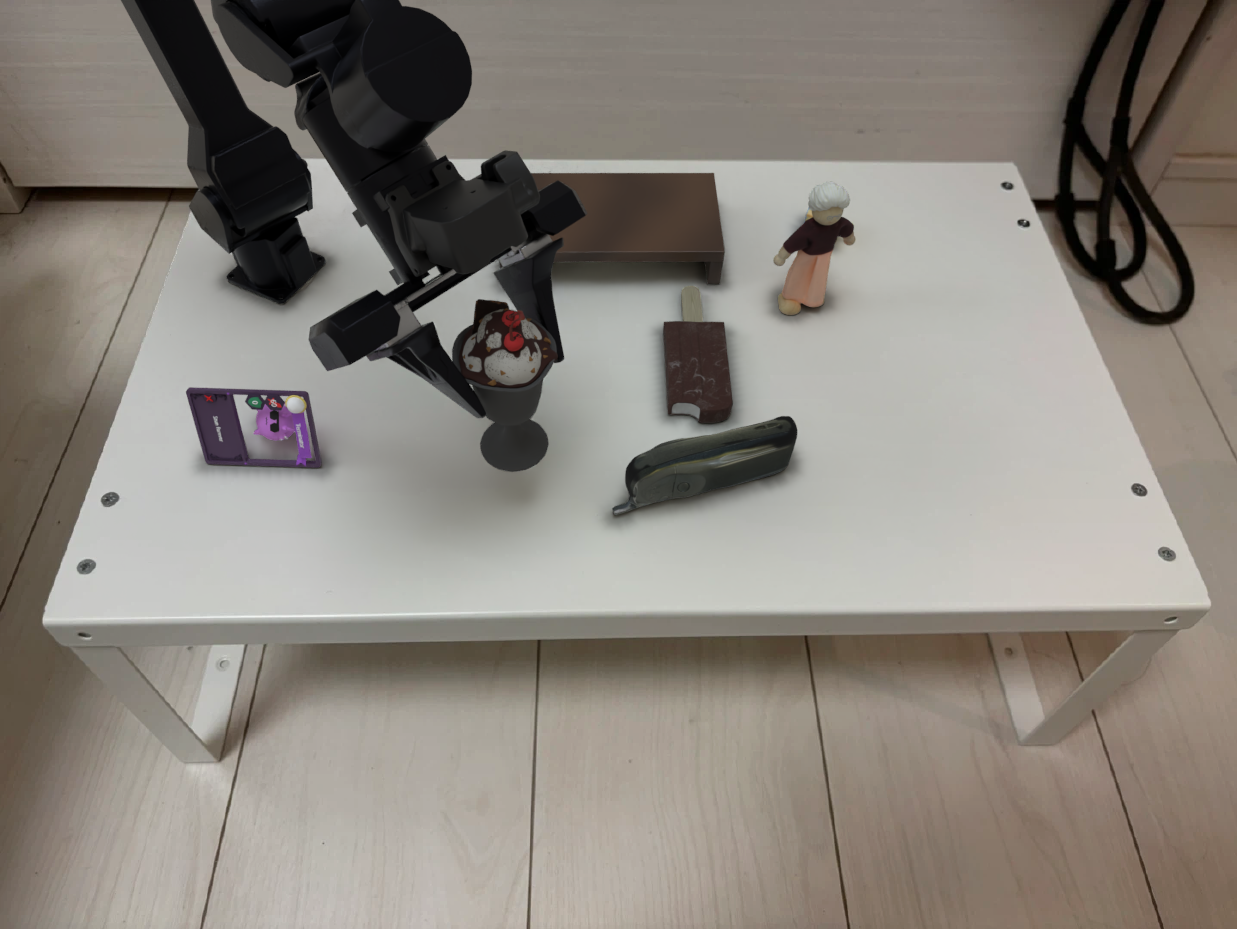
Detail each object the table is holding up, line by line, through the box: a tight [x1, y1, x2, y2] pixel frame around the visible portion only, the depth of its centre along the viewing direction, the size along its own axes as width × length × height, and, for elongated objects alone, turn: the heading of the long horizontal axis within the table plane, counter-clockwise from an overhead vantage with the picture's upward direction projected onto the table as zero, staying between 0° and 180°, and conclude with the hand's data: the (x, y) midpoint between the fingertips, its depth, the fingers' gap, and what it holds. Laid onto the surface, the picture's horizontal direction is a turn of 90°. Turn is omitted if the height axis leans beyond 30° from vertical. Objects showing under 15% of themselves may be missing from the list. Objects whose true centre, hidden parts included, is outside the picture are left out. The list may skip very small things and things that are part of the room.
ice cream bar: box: [662, 285, 734, 424], centre depth 80 cm, size 5×2×15 cm
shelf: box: [498, 172, 726, 286], centre depth 87 cm, size 20×11×4 cm, turn 92°
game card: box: [185, 387, 323, 468], centre depth 72 cm, size 7×5×9 cm
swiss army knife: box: [611, 415, 798, 516], centre depth 71 cm, size 5×3×15 cm
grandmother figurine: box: [772, 180, 857, 316], centre depth 79 cm, size 8×4×13 cm, turn 123°
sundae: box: [451, 298, 558, 473], centre depth 61 cm, size 7×7×15 cm
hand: (521, 388), depth 61 cm, fingers closed on sundae, 6 cm apart
